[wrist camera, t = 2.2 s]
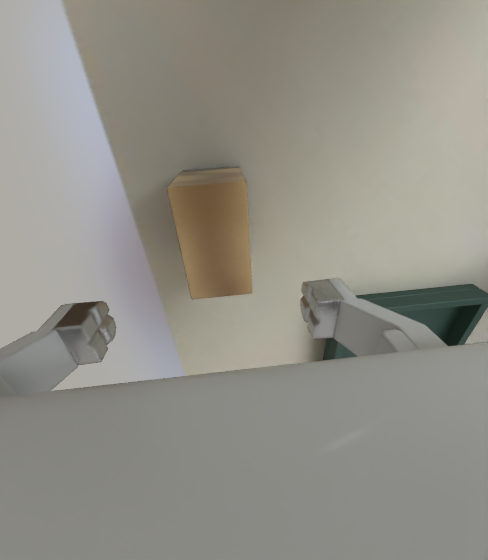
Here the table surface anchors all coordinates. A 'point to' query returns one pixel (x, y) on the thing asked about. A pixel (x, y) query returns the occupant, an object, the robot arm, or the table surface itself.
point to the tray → (428, 313)
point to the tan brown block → (213, 230)
